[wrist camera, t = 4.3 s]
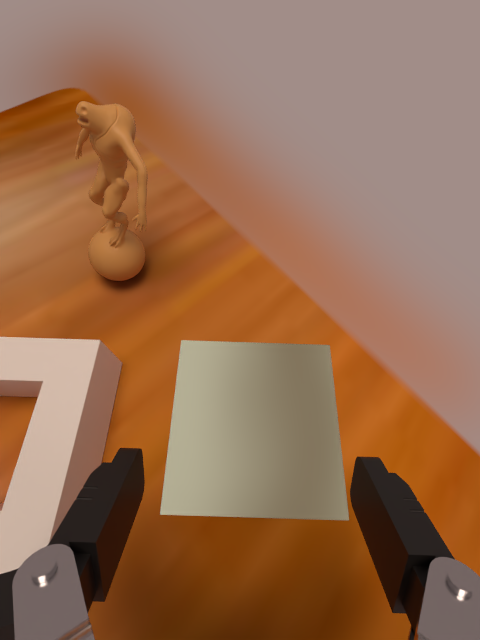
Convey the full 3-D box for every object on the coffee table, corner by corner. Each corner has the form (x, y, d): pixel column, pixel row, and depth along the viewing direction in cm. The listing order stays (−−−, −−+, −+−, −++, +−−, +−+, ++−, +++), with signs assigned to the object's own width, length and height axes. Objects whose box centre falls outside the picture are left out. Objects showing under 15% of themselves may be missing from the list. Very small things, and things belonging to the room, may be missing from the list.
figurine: (80, 249, 26) (-28, 89, 15) (143, 217, 28) (86, 53, 17) (129, 319, 23) (40, 182, 12) (196, 278, 25) (168, 127, 14)
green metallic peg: (203, 494, 18) (159, 514, 7) (209, 414, 20) (181, 340, 9) (281, 496, 18) (349, 520, 7) (278, 416, 20) (329, 345, 9)
